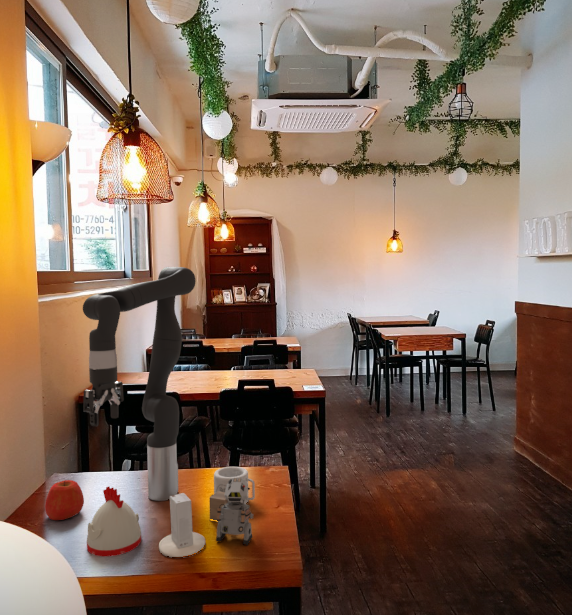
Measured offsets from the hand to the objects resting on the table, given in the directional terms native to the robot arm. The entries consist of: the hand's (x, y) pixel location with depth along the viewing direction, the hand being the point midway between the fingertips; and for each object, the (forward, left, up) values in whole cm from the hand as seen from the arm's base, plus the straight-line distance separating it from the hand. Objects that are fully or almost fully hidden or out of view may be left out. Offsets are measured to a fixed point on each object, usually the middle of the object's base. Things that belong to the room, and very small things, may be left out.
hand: (104, 421), depth 151 cm
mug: (-26, +28, -30) cm, 49 cm away
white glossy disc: (+3, +27, -30) cm, 41 cm away
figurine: (-7, +38, -30) cm, 49 cm away
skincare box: (+3, +27, -29) cm, 40 cm away
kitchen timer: (+8, +9, -30) cm, 33 cm away
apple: (0, -16, -30) cm, 34 cm away
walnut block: (-15, +29, -30) cm, 45 cm away
